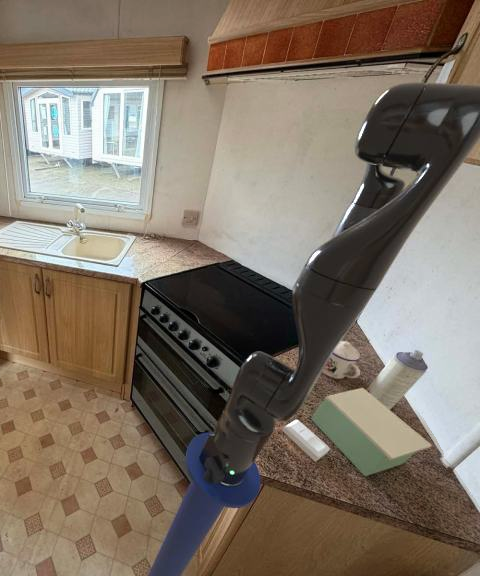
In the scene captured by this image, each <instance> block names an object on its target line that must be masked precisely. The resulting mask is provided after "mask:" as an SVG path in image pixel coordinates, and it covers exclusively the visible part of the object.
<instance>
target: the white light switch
mask: <svg viewBox="0 0 480 576" xmlns="http://www.w3.org/2000/svg"><path fill="white" fill-rule="evenodd" d="M281 431H282V432H283V433H284V434H285V435H286V436H287V437H288V438H289V439H290V440H291V441H292V442H293V443H294V444H295V445H297V446H298V448H300V449H301V451H303V452H304V453H305V454H306V455H307V456H309V458H310V459H311V460H313V461H314V462H317V461H319V460H320V459H321V458H322V457H324V456H326V454H328V452H329V451H330V450H331V448H330V447H329V446H328V445H327V444H326V443H325V442H324V441H323V440H322V439H321V438H319V436H318V435H316V434H315V433H314V432H312V431H311V430H310V429H309V428H308V427H307V426H306V425H304V424H303V423H302V422H301V420H299V419H295V420H293V421H291V422H290V423H289V422H288V424H286V425H285V426H284V427H282V430H281Z"/></svg>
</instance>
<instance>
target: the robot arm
mask: <svg viewBox="0 0 480 576" xmlns="http://www.w3.org/2000/svg"><path fill="white" fill-rule="evenodd" d="M479 142H480V84H469V83H468V84H467V83H466V84H463V83H444V82H404V83H399V84H396V85H393V86H391V87H389V88H387V89H386V90H384V91H383V92H382V93H381V94H380V95H379V96H378V97H377V99H376V100H374V102H373V104H371V106H370V108H369V110H368V111H367V113H366V114H365V117H364V119H363V121H362V123H361V124H360V127H359V130H358V132H357V134H356V137H355V140H354V144H353V145H354V146H353V151H354V155H355V157H356V158H357V159H358V160H359V161H361V162H362V163H363V162H364V163H366V165H365V169H364V174H363V176H362V178H361V179H362V180H361V182H360V184H359V186H358V188H357V190H356V192H355V194H354V196H353V198H352V200H351V202H350V204H349V205H348V207H347V208H346V209H345V211H344V213H343V215H342V217H341V219H340V221H339V223H337V224H338V225H337V226H336V229H335V230H334V232H333V234H332V236H331V238H330V239H328V240H327V241H325V242H324V243H322V244H320V245H319V246H318V247H317V248H315V249H314V250H313V251H312V252H311V253H310V255H309V256H308V258H307V260H306V262H305V263H304V266H303V267H302V270H301V271H300V273H299V275H298V276H297V279H296V281H295V283H294V284H293V287H292V290H291V308H292V315H293V318H294V319H293V320H294V323H295V328H296V334H297V338H298V339H297V340H298V358H297V364H296V368H293V367H291V366H289V365H287V364H286V363H284V362H282V361H281V360H279V359H277V358H275V357H273V356H272V355H270V354H269V353H266V352H264V351H261V350H257V351H254V352H252V353H250V354H249V355H248V356H247V357H246V358H245V359H244V361H243V362H242V364H241V365H240V367H239V369H238V371H237V374H236V376H235V379H234V382H233V385H232V387H231V391H230V394H229V396H228V398H227V400H226V403H225V405H224V408H223V410H222V412H221V415H220V416H219V419H218V421H217V423H216V424H215V427H214V429H213V432H212V433H213V434H209V436H208V438H207V440H206V442H205V445H204V447H203V449H202V451H201V454H200V456H199V459H200V461H201V463H202V465H203V466H204V469H205V471H206V473H205V475H204V480H205V482H206V483H207V484H210V483H211V481H212V483H213V484H217V483H218V484H220V485H223V486H226V487H235V486H238V485H239V484H241V482H242V481H243V479H244V477H245V475H246V474H247V472H248V470H249V469H250V467H251V466H252V464H253V463H254V461H255V462H256V459H257V458H258V457H259V454H260V453H261V451H262V450H263V449H264V447H265V446H266V444H267V443H268V441H269V440H270V438H271V436H272V434H273V433H274V431H275V428H276V420H278V421H280V422H288V421H290V420H291V419H293V418H294V417H295V416H296V415H297V414H298V413H299V411H300V410H301V409H302V408H303V406H304V404H305V403H306V401H307V399H308V398H309V395H311V392H312V390H313V389H314V387H315V385H316V383H317V381H318V380H319V377H320V376H321V374H322V371H323V369H324V367H325V365H326V363H327V362H328V360H329V358H330V357H331V355H332V353H333V352H334V350H335V349H336V347H337V346H338V344H339V343H340V341H343V339H344V337H345V335H346V334H347V333H348V332H349V331H350V329H351V328H352V326H353V325H354V323H355V322H356V320H357V319H358V318H359V316H360V315H361V313H362V312H363V311H364V309H365V308H366V306H367V305H368V303H369V302H370V301H371V299H372V298H373V296H374V294H375V292H376V291H377V290H378V288H379V286H380V285H381V283H382V282H383V280H384V278H385V277H386V275H387V273H388V272H389V270H390V268H391V267H392V265H393V263H394V262H395V260H396V258H397V257H398V255H399V253H400V252H401V250H402V249H403V247H404V245H405V244H406V242H407V240H408V239H409V237H410V236H411V235H412V233H413V231H414V230H415V229H416V227H417V226H418V225H419V223H420V222H421V220H422V219H423V217H424V216H425V215H426V213H427V212H428V211H429V210H430V208H431V206H432V205H433V204H434V203H435V202H436V200H437V198H438V197H439V196H440V194H441V193H442V192H443V190H444V189H445V187H446V186H447V185H448V184H449V182H450V181H451V180H452V178H453V177H454V176H455V174H456V173H457V172H458V170H459V169H460V167H461V166H462V165H463V164H464V162H465V161H466V160H467V158H468V157H469V156H470V154H471V153H472V151H473V150H474V148H476V146H477V144H478V143H479ZM383 167H386V168H391V169H398V170H403V171H409V172H410V171H411V172H415V173H416V176H415V177H414V179H413V180H412V181H411V182H410V183H409V184H408V185H407V186H406V182H405V181H404V180H403V179H402V178H400V177H397V176H395V175H394V176H393V175H391V174H389V173H386V171H385V170H384V169H383ZM209 477H210V479H211V481H210V480H209V479H208V478H209Z"/></svg>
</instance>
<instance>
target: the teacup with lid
mask: <svg viewBox="0 0 480 576" xmlns="http://www.w3.org/2000/svg"><path fill="white" fill-rule="evenodd" d="M360 360H361V354H360V351H359V350H358V349H357V348H356V347H355V346H353V344H352V343H351V342H349V341H347V340H345V341H344V340H341V341H340V343H339V344H338V346H337V347H336V349H335V350H334V352H333V353H332V355H331V357H330V358H329V360H328V362H327V363H326V365H325V367H324V369H323V371H322V372H321V374H324V375H325V376H328V377H330V378H332V379H336V380H337V379H338V380H341V379H344V378H345V377H346V378H348V379H356V378H358V377H359V376H360V375H361V369H360V368H359V366H358V365H357V364H356V363H357V362H358V361H360ZM352 368H353V369H354V371H355V372H354V374H353V375H351V374H349V372H350V371H351V369H352Z"/></svg>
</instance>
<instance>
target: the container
mask: <svg viewBox="0 0 480 576" xmlns="http://www.w3.org/2000/svg"><path fill="white" fill-rule="evenodd" d="M310 420H311V421H312V422H313V423H314V424H315V425H316V426H317V427H318V428H319V429H320V430H321V432H323V433H324V434H325V436H327V438H328V439H329V440H330V441H331V442H332V443H333V444H334V445H335V447H336V448H338V449H339V451H340V452H341V453H342V454H344V456H345V457H346V458H347V459H348V460H349V461H350V462H351V463H352V464H353V466H355V468H356V469H357V470H358V471H359V472H360V473H361V474H362V475H363V476H364V477H368V476H371V475H374V474H377V473H380V472H382V471H386V470H388V469H391V468H392V469H393V468H394V467H398V466H401V465H404V464H405V463H406V462H407V461H408V460H409V459H410V458H411V457H412V456H414V455H415V454H416V453H417V452H414V453H411V454H408V455H405V456H402V457H399V458H395V459H392V460H390V459H389V458H388V457H387V456H386V455H385V454H384V453H383V452H382V451H381V450H379V449H378V448H377V447H376V446H375V445H374V444H373V443H372V442H371V441H370V440H369V439H368V438H367V437H366V436H365V435H364V434H363V433H362V432H361V431H360V430H359V429H358V428H356V427H355V426H354V425H353V424H352V423H351V422H350V421H349V420H348V419H347V418H346V417H345V416H344V415H343V414H342V413H341V412H340V411H339V410H338V409H337V408H336V407H335V406H333V405H332V404H331V403H330V402H329V401H328V400H327V399H326V397H325V398H324V399H323V401H322V402H321V404H320V405H319V406H318V408H317V409H316V411H315V412H314V413H313V415H311V417H310Z"/></svg>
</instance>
